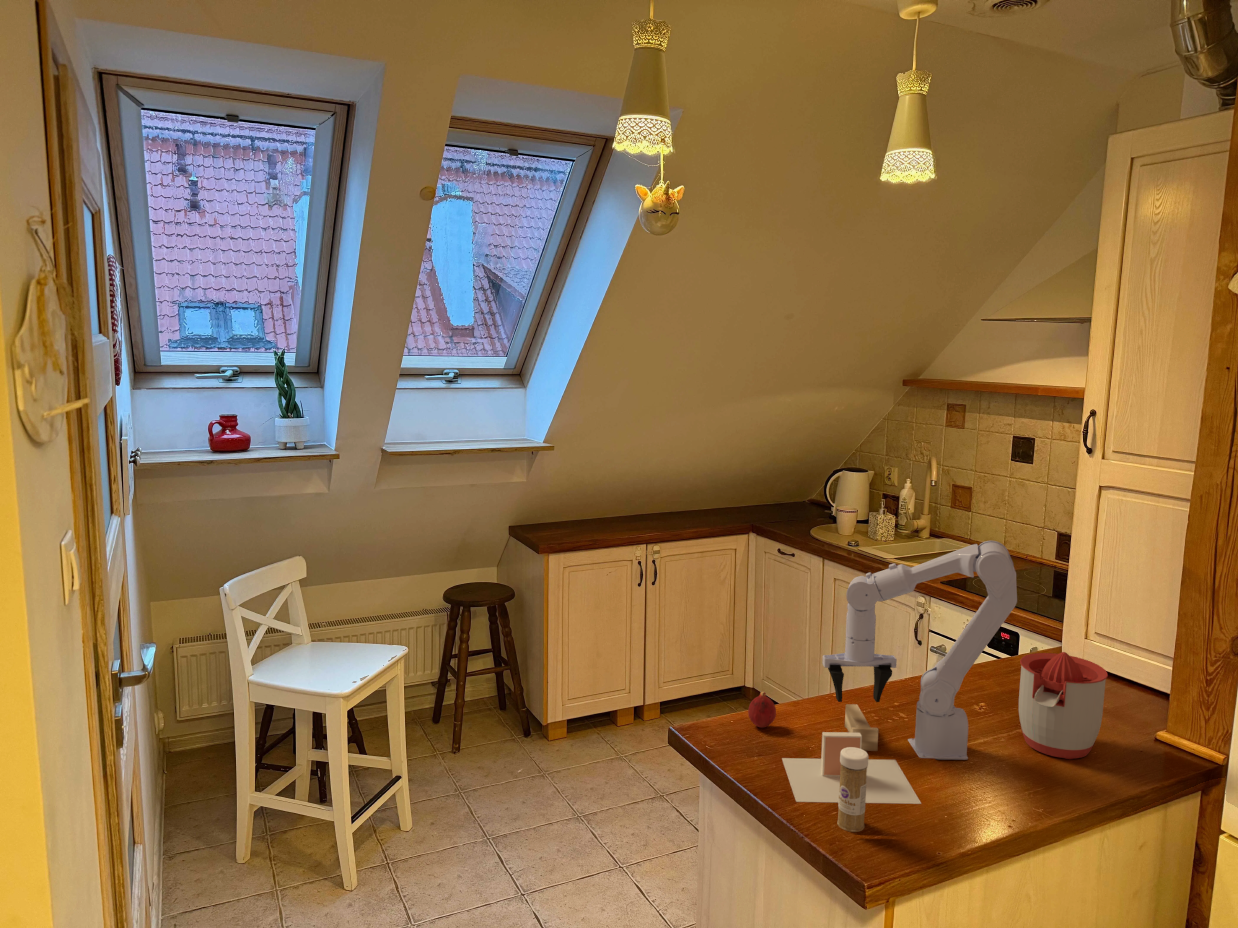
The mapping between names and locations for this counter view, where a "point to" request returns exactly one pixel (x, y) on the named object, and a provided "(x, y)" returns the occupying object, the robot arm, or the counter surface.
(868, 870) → the counter surface
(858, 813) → the sprinkles bottle
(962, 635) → the robot arm
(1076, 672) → the citrus juicer
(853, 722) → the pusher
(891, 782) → the mat
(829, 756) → the tile
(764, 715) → the onion
